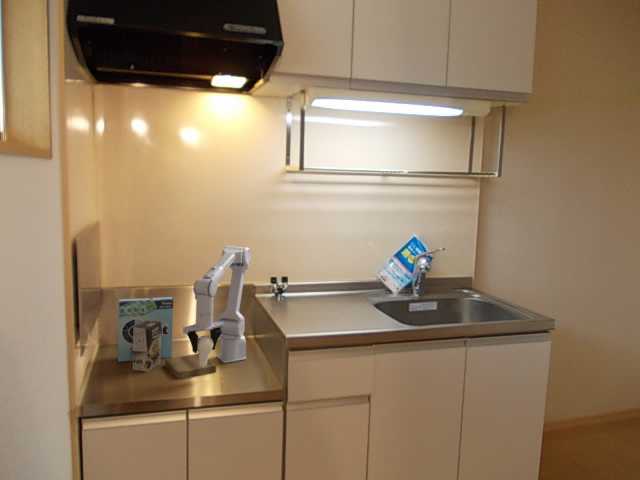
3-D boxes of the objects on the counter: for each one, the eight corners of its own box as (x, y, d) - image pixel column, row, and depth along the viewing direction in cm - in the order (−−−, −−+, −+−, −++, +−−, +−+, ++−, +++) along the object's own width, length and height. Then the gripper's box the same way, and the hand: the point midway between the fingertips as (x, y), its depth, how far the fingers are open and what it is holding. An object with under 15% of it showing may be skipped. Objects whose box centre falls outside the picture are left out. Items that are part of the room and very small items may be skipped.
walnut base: (201, 359, 195) (201, 353, 195) (215, 372, 184) (216, 365, 183) (165, 365, 187) (165, 359, 187) (178, 379, 176) (178, 372, 175)
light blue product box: (118, 362, 187) (118, 302, 184) (117, 357, 192) (118, 299, 189) (172, 357, 195) (173, 299, 192) (170, 352, 200) (171, 296, 197)
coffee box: (148, 372, 180) (148, 328, 178) (132, 370, 181) (132, 326, 179) (161, 363, 189) (162, 321, 187) (145, 361, 190) (146, 319, 188)
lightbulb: (203, 370, 172) (205, 339, 171) (190, 366, 175) (192, 335, 174) (215, 366, 177) (217, 335, 176) (202, 362, 180) (204, 332, 180)
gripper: (188, 318, 167) (187, 357, 169) (229, 313, 175) (227, 350, 177) (181, 312, 172) (180, 351, 174) (220, 308, 181) (219, 344, 183)
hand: (203, 350), depth 176 cm, fingers closed on lightbulb, 6 cm apart
